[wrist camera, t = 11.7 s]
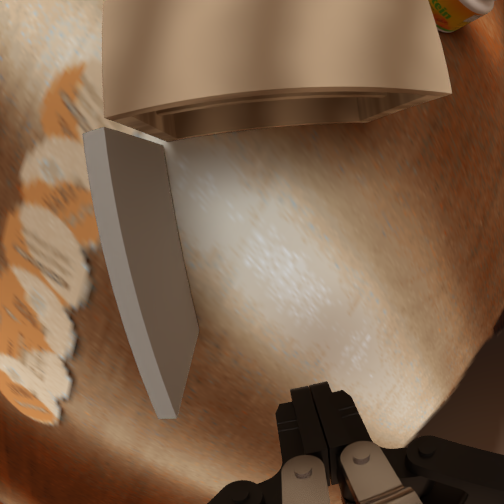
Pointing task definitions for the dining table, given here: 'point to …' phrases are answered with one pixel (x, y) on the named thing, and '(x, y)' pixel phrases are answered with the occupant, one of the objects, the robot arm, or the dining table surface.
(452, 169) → the dining table surface
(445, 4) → the supplement bottle
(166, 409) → the door
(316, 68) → the cabinet
